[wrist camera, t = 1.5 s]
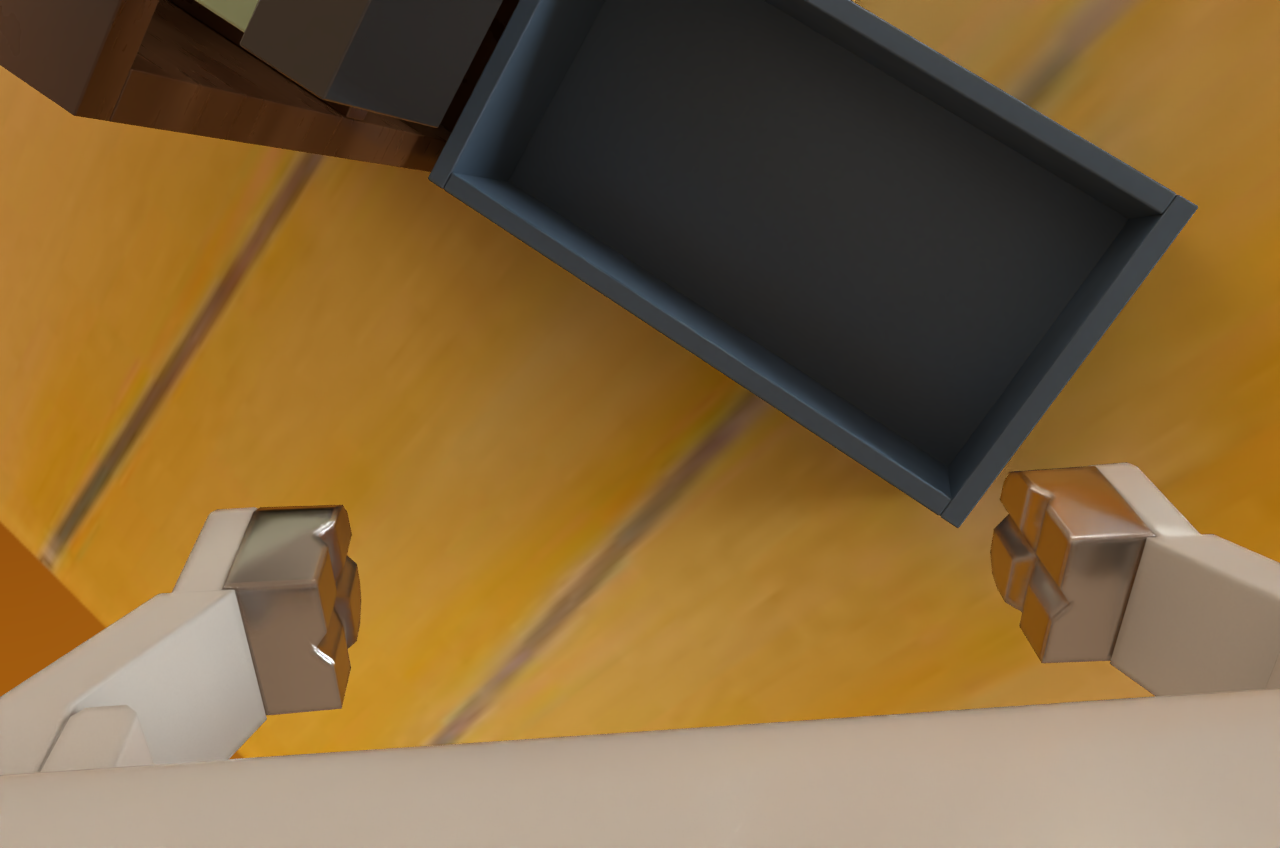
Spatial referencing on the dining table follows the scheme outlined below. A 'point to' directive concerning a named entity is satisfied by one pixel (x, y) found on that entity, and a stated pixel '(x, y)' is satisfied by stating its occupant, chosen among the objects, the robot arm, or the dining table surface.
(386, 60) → the drawer
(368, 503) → the dining table surface
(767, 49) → the crate
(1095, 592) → the robot arm
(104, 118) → the stand
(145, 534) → the dining table surface
